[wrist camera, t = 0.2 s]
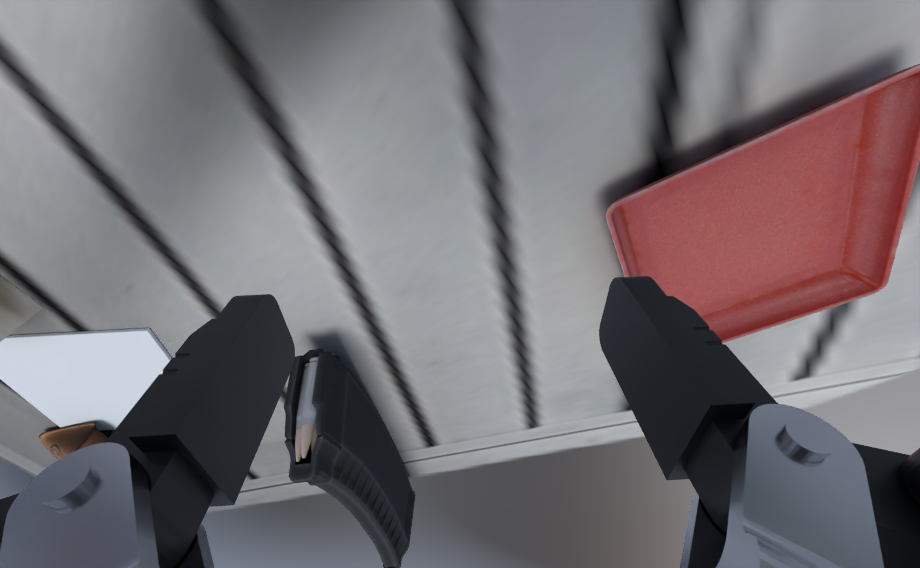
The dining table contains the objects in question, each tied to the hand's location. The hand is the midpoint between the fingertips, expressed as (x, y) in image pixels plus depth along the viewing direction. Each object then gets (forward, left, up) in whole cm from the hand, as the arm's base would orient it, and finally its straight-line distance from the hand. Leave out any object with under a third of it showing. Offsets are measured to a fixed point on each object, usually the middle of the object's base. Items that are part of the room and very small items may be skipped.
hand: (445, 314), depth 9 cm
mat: (+22, -34, -17) cm, 44 cm away
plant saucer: (+9, +22, -18) cm, 30 cm away
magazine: (+32, -10, -18) cm, 38 cm away
